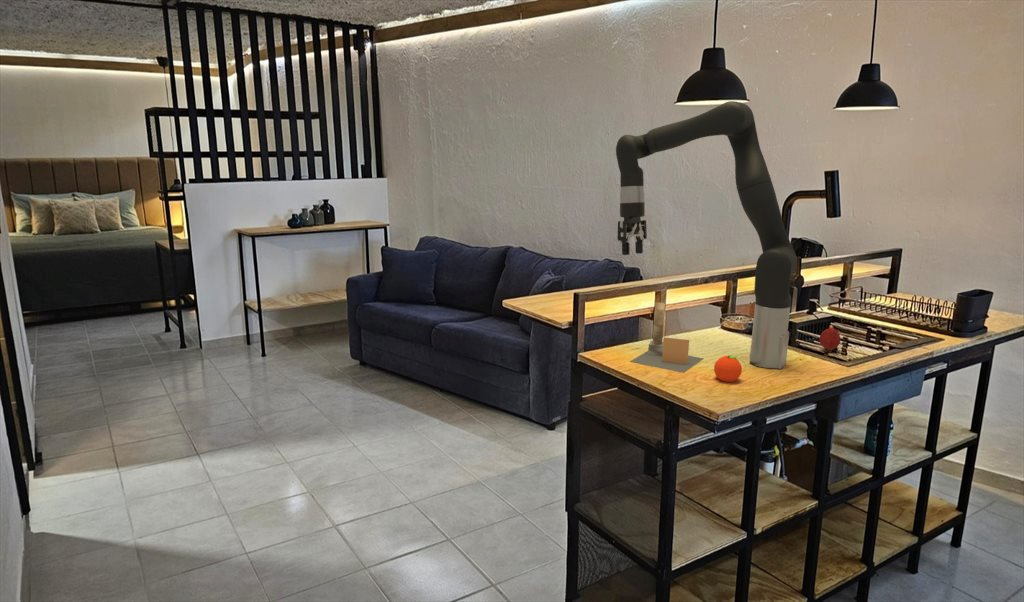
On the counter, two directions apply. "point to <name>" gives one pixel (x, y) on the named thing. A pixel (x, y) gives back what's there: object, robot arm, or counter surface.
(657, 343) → the pusher
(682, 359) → the tile
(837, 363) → the counter surface
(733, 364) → the clementine
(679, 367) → the mat
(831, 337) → the onion
